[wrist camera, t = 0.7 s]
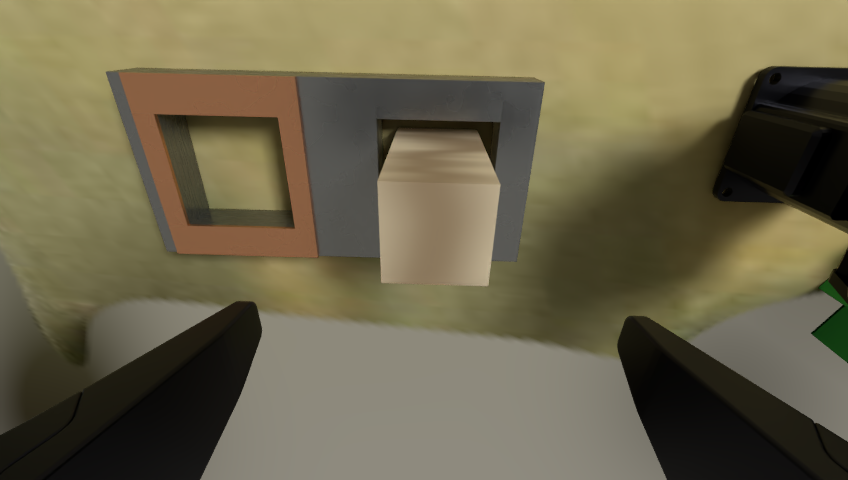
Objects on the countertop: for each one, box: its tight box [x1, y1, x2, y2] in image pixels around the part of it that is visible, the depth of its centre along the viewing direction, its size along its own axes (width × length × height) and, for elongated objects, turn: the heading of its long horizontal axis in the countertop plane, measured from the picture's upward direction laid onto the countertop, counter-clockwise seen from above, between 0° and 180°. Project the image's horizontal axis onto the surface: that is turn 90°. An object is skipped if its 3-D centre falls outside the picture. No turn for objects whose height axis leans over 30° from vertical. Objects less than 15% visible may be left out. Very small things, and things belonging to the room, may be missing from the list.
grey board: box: [106, 68, 545, 262], centre depth 20 cm, size 19×9×2 cm, turn 89°
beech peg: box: [377, 128, 500, 286], centre depth 17 cm, size 4×4×8 cm
